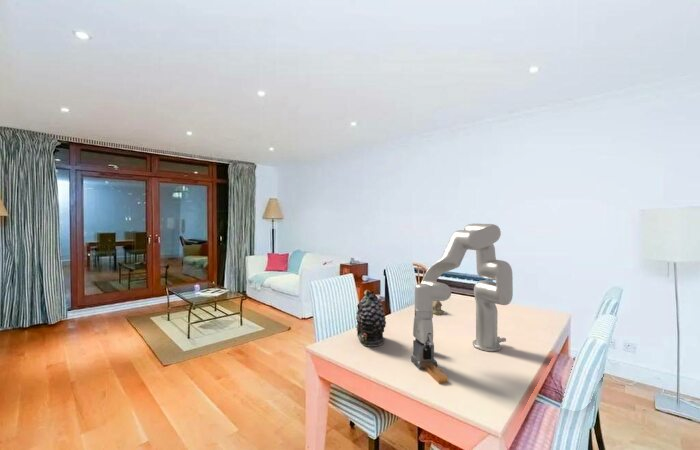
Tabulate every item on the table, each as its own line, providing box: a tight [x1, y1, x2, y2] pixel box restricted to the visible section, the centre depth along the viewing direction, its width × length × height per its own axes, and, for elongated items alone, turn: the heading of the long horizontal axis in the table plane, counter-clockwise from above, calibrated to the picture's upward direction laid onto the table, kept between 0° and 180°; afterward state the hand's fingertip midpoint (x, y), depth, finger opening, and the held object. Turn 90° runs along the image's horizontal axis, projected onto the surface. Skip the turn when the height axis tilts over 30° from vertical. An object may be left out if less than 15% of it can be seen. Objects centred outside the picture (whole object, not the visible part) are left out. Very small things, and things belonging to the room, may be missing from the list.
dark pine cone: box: [355, 289, 387, 347], centre depth 163 cm, size 21×15×25 cm
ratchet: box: [410, 355, 449, 385], centre depth 130 cm, size 20×8×8 cm, turn 14°
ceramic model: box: [433, 301, 445, 316], centre depth 212 cm, size 14×11×10 cm
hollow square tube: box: [412, 339, 435, 363], centre depth 136 cm, size 6×6×7 cm
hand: (423, 355), depth 136 cm, fingers closed on hollow square tube, 6 cm apart
